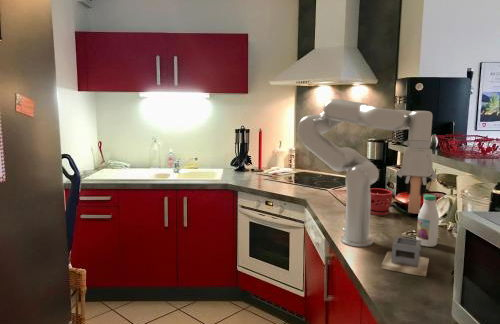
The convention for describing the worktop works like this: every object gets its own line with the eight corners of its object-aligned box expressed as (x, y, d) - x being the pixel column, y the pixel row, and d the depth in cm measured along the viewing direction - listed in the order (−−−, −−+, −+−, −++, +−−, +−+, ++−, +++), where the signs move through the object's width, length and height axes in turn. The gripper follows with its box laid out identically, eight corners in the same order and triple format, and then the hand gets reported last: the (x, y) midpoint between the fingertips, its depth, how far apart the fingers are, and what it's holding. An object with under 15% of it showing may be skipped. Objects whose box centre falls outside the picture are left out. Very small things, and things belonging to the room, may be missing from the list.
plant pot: (359, 211, 210) (360, 189, 209) (378, 209, 216) (379, 187, 214) (376, 218, 199) (378, 194, 197) (396, 215, 204) (398, 192, 202)
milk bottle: (431, 240, 166) (434, 193, 163) (440, 247, 158) (444, 197, 155) (412, 240, 166) (416, 193, 163) (421, 247, 158) (424, 197, 155)
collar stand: (381, 268, 137) (382, 244, 136) (387, 255, 149) (388, 233, 148) (425, 276, 131) (427, 251, 129) (428, 262, 143) (430, 239, 142)
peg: (405, 211, 151) (408, 168, 148) (414, 210, 152) (417, 168, 150) (413, 213, 147) (416, 170, 144) (422, 213, 148) (425, 170, 146)
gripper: (393, 144, 146) (390, 193, 149) (444, 147, 139) (439, 199, 141) (396, 142, 153) (392, 190, 155) (444, 145, 145) (440, 195, 148)
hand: (415, 193), depth 148 cm, fingers closed on peg, 4 cm apart
